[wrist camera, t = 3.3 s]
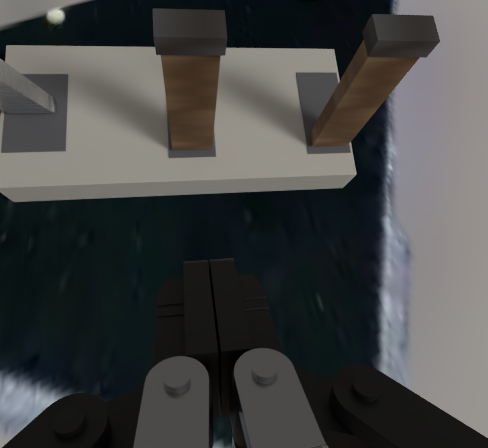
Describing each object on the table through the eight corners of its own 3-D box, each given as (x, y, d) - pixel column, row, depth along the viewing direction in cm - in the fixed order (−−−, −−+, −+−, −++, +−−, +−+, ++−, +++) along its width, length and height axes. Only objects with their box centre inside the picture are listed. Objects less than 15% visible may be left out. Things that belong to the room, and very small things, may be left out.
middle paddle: (169, 152, 29) (153, 37, 18) (169, 133, 29) (152, 8, 18) (214, 151, 29) (227, 37, 18) (213, 132, 30) (224, 10, 18)
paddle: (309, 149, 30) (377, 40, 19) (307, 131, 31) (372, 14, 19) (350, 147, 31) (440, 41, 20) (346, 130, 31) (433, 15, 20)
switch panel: (13, 201, 30) (-7, 187, 27) (23, 70, 33) (5, 44, 30) (342, 187, 34) (357, 173, 31) (323, 71, 37) (334, 48, 34)
